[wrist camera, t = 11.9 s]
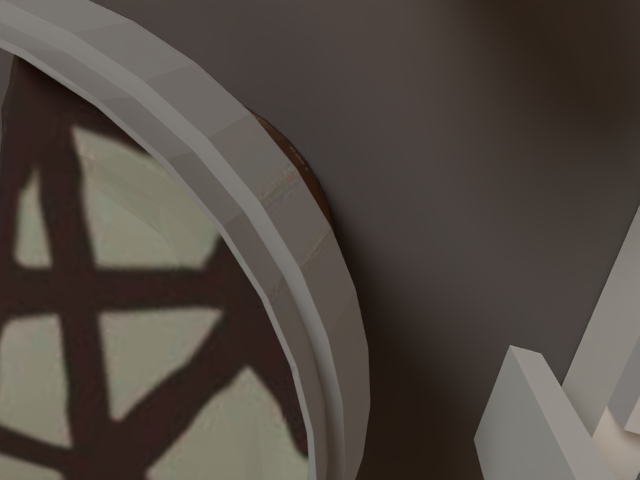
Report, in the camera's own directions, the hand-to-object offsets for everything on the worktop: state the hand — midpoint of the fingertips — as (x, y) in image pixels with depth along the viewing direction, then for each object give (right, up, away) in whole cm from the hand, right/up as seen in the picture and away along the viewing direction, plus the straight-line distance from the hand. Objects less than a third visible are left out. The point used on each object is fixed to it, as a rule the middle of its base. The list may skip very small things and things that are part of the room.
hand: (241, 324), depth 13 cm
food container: (0, +1, +3) cm, 4 cm away
